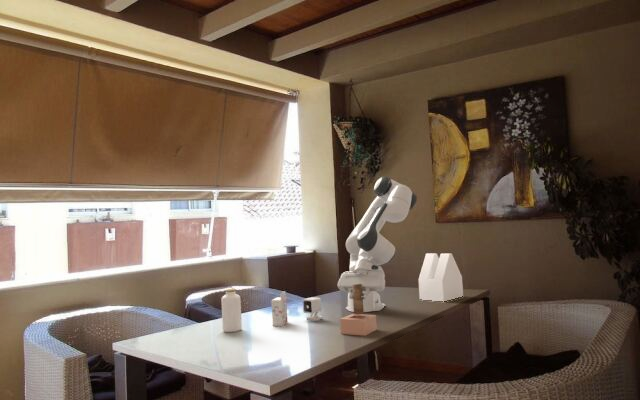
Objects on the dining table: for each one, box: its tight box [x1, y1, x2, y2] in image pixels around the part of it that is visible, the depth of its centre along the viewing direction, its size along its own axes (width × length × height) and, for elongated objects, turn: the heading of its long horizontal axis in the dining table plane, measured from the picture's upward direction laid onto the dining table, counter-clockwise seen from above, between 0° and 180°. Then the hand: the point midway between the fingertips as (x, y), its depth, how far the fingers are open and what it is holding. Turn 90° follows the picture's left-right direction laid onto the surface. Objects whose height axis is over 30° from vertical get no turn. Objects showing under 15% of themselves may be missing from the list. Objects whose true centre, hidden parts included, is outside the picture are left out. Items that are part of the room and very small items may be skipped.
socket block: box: [339, 313, 378, 337], centre depth 201 cm, size 11×11×6 cm
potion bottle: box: [221, 288, 243, 333], centre depth 217 cm, size 8×8×18 cm
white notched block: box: [418, 252, 464, 303], centre depth 271 cm, size 19×15×25 cm
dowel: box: [352, 284, 365, 315], centre depth 202 cm, size 4×4×12 cm
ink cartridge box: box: [270, 290, 288, 327], centre depth 226 cm, size 9×5×15 cm, turn 168°
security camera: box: [302, 296, 323, 322], centre depth 231 cm, size 6×7×10 cm
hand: (357, 298), depth 201 cm, fingers closed on dowel, 4 cm apart
